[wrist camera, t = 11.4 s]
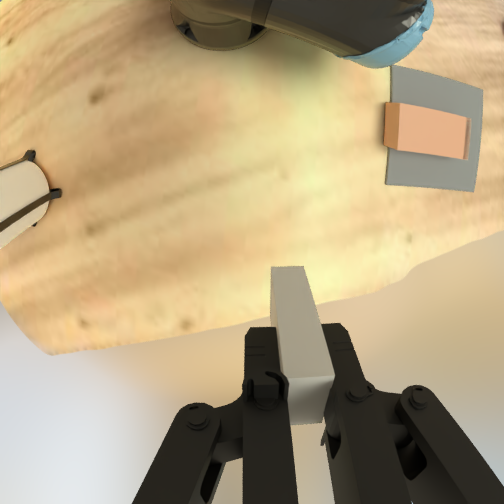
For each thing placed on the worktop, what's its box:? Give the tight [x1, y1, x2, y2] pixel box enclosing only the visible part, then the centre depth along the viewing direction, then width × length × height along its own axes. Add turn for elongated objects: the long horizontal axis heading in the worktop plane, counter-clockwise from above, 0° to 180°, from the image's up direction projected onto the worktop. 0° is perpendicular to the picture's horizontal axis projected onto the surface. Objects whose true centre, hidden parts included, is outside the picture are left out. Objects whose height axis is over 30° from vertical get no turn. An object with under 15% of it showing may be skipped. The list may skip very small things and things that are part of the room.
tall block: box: [384, 102, 472, 160], centre depth 40 cm, size 7×5×14 cm
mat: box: [385, 65, 483, 192], centre depth 42 cm, size 20×20×1 cm
